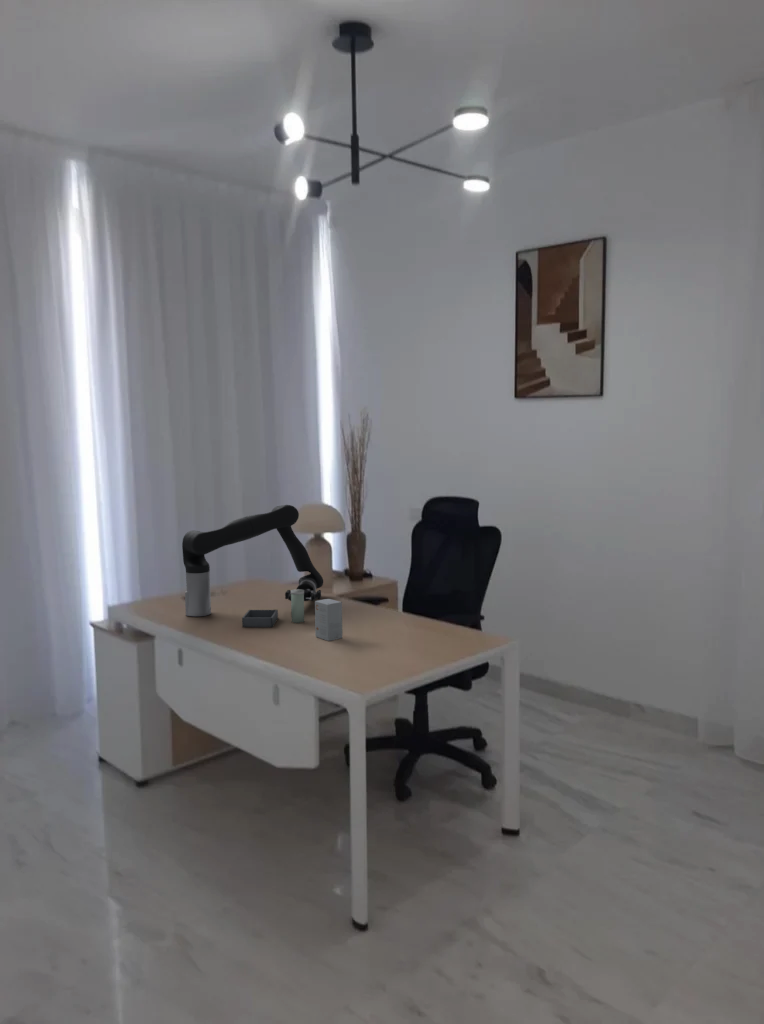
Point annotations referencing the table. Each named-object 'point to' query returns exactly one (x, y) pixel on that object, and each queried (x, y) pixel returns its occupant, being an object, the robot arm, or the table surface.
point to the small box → (328, 619)
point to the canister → (297, 605)
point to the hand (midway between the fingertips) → (301, 598)
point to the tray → (260, 618)
